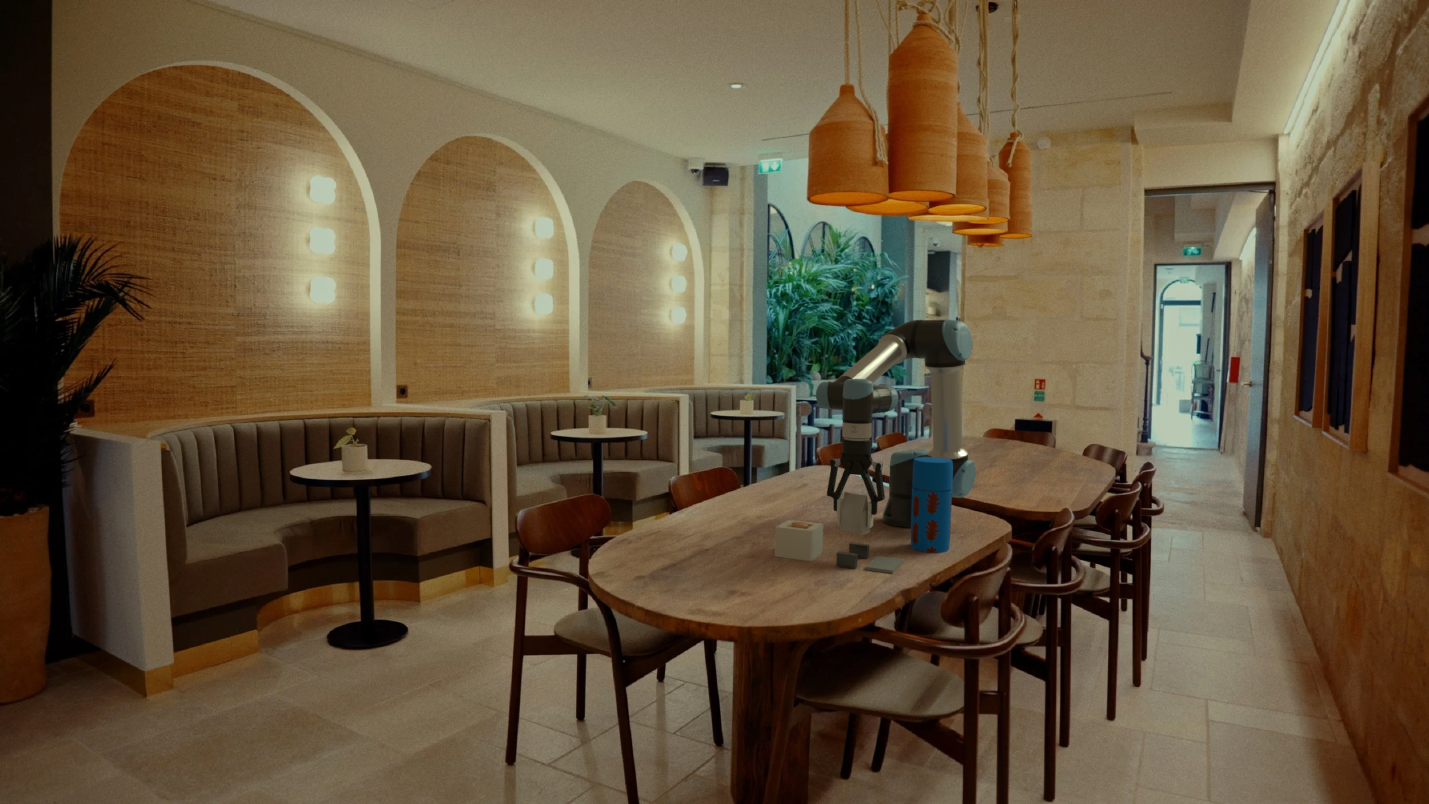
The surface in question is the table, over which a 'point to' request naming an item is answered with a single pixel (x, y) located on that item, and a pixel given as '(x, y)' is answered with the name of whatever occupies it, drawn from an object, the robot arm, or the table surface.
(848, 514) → the tea bag
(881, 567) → the mat
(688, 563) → the table surface
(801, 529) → the housing
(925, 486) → the thermos
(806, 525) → the plunger
